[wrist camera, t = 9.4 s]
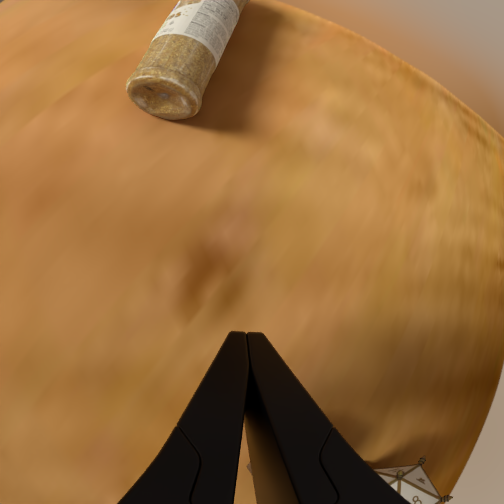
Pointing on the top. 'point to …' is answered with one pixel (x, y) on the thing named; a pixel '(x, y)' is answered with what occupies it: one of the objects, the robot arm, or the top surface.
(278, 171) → the top surface
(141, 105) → the sprinkles bottle
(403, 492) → the game die
